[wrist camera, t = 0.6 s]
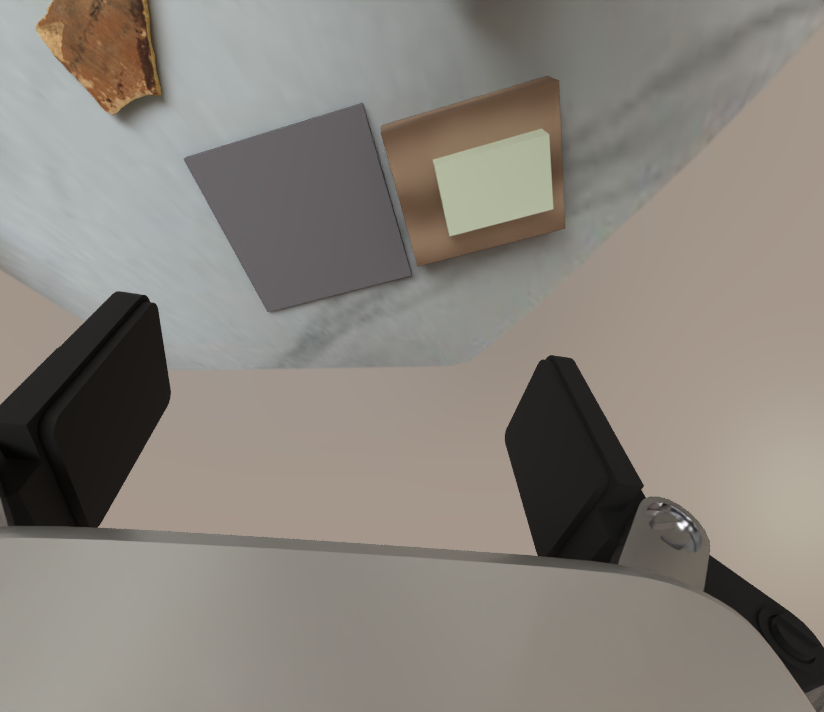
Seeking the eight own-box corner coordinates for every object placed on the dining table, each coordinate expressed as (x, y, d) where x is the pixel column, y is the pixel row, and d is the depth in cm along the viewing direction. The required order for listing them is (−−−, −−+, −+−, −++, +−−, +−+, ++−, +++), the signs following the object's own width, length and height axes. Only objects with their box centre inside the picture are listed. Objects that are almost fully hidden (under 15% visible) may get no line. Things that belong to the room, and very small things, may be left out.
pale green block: (447, 227, 40) (449, 236, 38) (432, 159, 36) (434, 166, 35) (546, 201, 39) (553, 209, 37) (541, 128, 35) (549, 133, 34)
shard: (139, -80, 29) (126, -85, 28) (225, 40, 34) (218, 41, 32) (39, 26, 32) (24, 26, 31) (130, 123, 37) (119, 128, 35)
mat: (186, 157, 38) (183, 158, 37) (362, 103, 36) (362, 104, 36) (268, 309, 48) (267, 312, 47) (411, 272, 46) (411, 275, 45)
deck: (381, 125, 37) (381, 133, 35) (547, 75, 35) (558, 80, 33) (416, 253, 44) (417, 266, 42) (555, 216, 43) (564, 228, 40)
